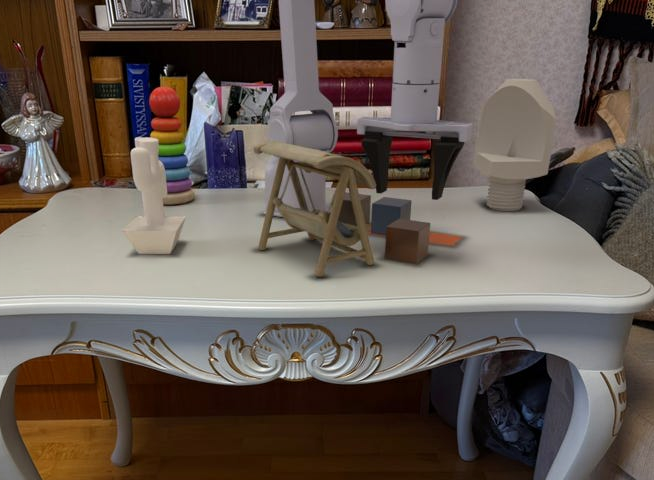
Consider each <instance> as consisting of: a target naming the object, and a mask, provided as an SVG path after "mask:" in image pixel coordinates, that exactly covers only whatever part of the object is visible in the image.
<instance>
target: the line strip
mask: <svg viewBox="0 0 654 480" xmlns="http://www.w3.org/2000/svg"><path fill="white" fill-rule="evenodd" d="M369 225H370V230H369V231H368V232H367V233H368V235H374V236H381V237H386V235H381V234H374V233H371V223H370V224H369ZM461 239H463V236H460V235H454V234H453V235H452V234H446V233H440V232H439V233H438V232H432V231H430V235H429V244H434V245H440V246H448V247H454V246H455V245H456V244H457V243H459V241H460V240H461Z"/></svg>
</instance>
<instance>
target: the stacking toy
mask: <svg viewBox="0 0 654 480" xmlns="http://www.w3.org/2000/svg"><path fill="white" fill-rule="evenodd" d="M148 102H149V107H150V110H151V111H152V113H153V115H154V116H156V117H154V118H152V119H151V122H150V125H151V128H152V131H151V133H150V134H149V135H150V136H149V138H156V139H158V140H159V152H158V158H159V161H161V162H162V163H163V165H164V168H165V174H166V184H167V196H166V197H165V198H163V205H167V206H169V205H170V206H171V205H182V204H187V203H189V202H191V201H193V199H194V198H195V191H194V189H192V185H193V181H192V179H191V178H190V176H191V169H190V166H188V163H189V159H188V156H187V155H186V154H185V153H186V151H187V147H186V144H185V143H184V142H182V141H183V140H184V134H183V132H182V131H181V130H180V129H181V128H182V121H181V119H180V118H179V117H177V116H176V115H177V114H178V113H179V110H180V108H181V98H180V96H179V94H178V92H176V91H175V90H174V89H173V88H171V87H168V86H159V87H156V88H154V89H153V90H152V92H151V93H150V95H149V100H148Z"/></svg>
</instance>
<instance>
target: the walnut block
mask: <svg viewBox="0 0 654 480" xmlns="http://www.w3.org/2000/svg"><path fill="white" fill-rule="evenodd" d="M430 232H431V222H427V221H420V220H412V219H410V220H406V219H398V220H396V221H395V222H393V223H392V224H390V225H388V226H387V227H386V236H385V245H384V260H386V261H387V260H388V261H393V262H399V263H403V264H404V263H406V264H411V265H418V264H419V263H420V262H421V261H422V260H424V259H425V258H426V257H427V256H428V255H429V245H430V243H429V235H430Z"/></svg>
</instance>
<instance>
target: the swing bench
mask: <svg viewBox="0 0 654 480" xmlns="http://www.w3.org/2000/svg"><path fill="white" fill-rule="evenodd" d="M252 149H253V152H254V153H255V154H257V155H260V154H261V155H262V154H265V155H269V156H272V157H275V156H276V157H280V158H279V162H278V166H277V170H276V174H275V179H274V183H273V187H272V191H271V195H270V199H269V203H268V207H267V211H266V210H265V211H266V215H265V214H264V220H263V224H262V229H261V233H260V237H259V243H258V250H260V251H265V250H266V249H267V245H268V240H269V239H271V238H277V237H282V236H287V235H293V234H298V233H303V232H306V233H307V236H308V239H309V241H314V240H318V241H321V242H322V244H321V249H320V253H319V256H318V259H317V264H316V268H315V273H314V274H315V276H316V277H319V278H321V277H323V275H324V273H325V269H326V266H327V264H329V263H333V262H340V261H343V260H348V259H353V258H356V257H358V258H360V259H362V260H364V261H365V264H366V265H367V266H373V265H374V263H375V259H374V255H373V251H372V245H371V242H370V237H369V234H368V233H367V232H368V231H369V230H370V225H369V224H365V219H364V215H363V210H362V206H361V201H360V197H359V194H360V192H359V188H358V184H359V185H360V186H365V188H366V189H368V190H369V189H370V190H376V183H375V180H374V176H373V174H371V172H370V170H369V169H368V168H367V167H365V166H364V165H363V164H362V163H360V162H359V161H358V160H356V159H353V158H351V157H346V156H342V155H339V154H334V153H331V152H330V153H327V152H324V151H320V150H315V149H310V148H304V147H301V146H296V145H291V144H287V143H283V142H277V141H270V142H269V141H264V142H261V143H258V144H256V145H254V146H253V147H252ZM293 160H295V161H299V162H300V163H296V162H294V161H293ZM286 165H287V168H288V171H289V173H288V177H287V180H286V184H285V187H284V189H283V192H282V195H281V197H280V198H278V195H279V191H280V187H281V183H282V179H283V174H284V170H285V166H286ZM295 167H296V168H299V169H300V172H301V176H302V178H303V181H304V184H305V186H306V189H307V192H308V195H309V198H310V201H311V204H312V207H313V211H312V212H310V211H309V210H308V207H307V203H306V200H305V197H304V193H303V190H302V187H301V184H300V180H299V177H298V173H297V170H296V168H295ZM302 169H304V171H305V172H307V173H311V172H314V173H318V174H321V175H325V176H326V177H329V178H333V179H337V180H338V182H337V185H336V186H335V189H334V193H333V195H332V198H331V201H330V203H329V206H328V207H329V208H328V210H327V212H326V211H320V210H318V209H315V207H314V205H313V201H312V198H311V195H310V192H309V189H308V186H307V184H306V180H305V178H304V175H303V172H302ZM290 177H291V180H292V183H293V187H294V190H295V193H296V196H297V200H298V203H299V206H300V208H294V207H292V206H289V205H287V204H284V203H283V202H282V198H283V196H284V193H285V191H286V188H287V185H288V182H289V178H290ZM347 188H348V193H349V194H350V199H351V202H352V206H353V211H354V215H355V219H356V223H357V226H354V225H350V224H344V223H342V222H340V221H338V217H339V214H340V210H341V206H342V202H343V198H344V195H345V192H346V190H347ZM332 203H333V205H332ZM275 207H276V208H277V209H278V211H279V212H280V214H281V215H282V217H281V218H283V220H284V221H285V222H286V224H287V225H288V226H289V227H290V228H287V229H282V230H277V231H271V232H270V230H271V227H272V223H273V218H274V216H273V215H274V210H275ZM331 207H332V209H331V213H329V210H330V208H331ZM359 241H360V244H361V248H362V249H360V250H359V249H356V248H353V247H351V246H354V245H355V244H357V243H358V242H359ZM331 247H334V248H337V249H339V250H341V251H343V252H345V253H341V254H336V255H335V254H334V255H330V251H331Z"/></svg>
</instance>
